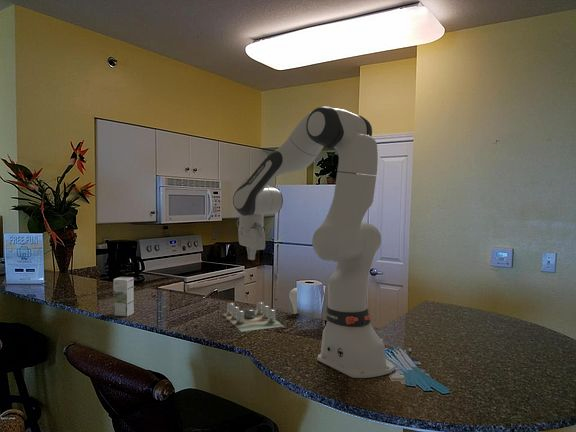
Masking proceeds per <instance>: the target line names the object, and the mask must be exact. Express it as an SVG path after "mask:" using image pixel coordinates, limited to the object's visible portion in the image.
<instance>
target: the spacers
mask: <svg viewBox="0 0 576 432" xmlns="http://www.w3.org/2000/svg"><path fill="white" fill-rule="evenodd" d="M243 310H244V309H243ZM243 310H242V309H240V306H238V305H237V306H236V305H235V302H227V304H226V313H227V316H231V320H236V324H238V325H242V324H244V311H243ZM256 310H257V315H262V319H268V323H271V324H273V323H275V320H277V319H276V315H277V314H276V311H277V310H276V309H273V308H270V305H265V302H264V301H257V302H256Z"/></svg>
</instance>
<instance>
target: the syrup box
mask: <svg viewBox="0 0 576 432" xmlns="http://www.w3.org/2000/svg"><path fill="white" fill-rule="evenodd" d="M134 280H135V279H134V276H133V277H132V276H131V277H130V276H119V277H118V276H117V277H116V278H114V279H113V281H112V285H113V287H112V288H113V289H112V290H113V291H112V292H113V294H112V296H113V317H129V315H130V316H131V315H133V314H134V313H135V308H134V307H135V305H134V301H135V300H134V294H135V293H134V287H135V286H134Z"/></svg>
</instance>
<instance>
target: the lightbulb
mask: <svg viewBox="0 0 576 432" xmlns="http://www.w3.org/2000/svg"><path fill="white" fill-rule="evenodd" d="M297 288H298V287H294V288H293V289H291V290H290V292H289V295H288V297H289V300H290V302H291V304H292V309H293V315H294V314H296V313H297Z"/></svg>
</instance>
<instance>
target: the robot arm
mask: <svg viewBox="0 0 576 432" xmlns="http://www.w3.org/2000/svg"><path fill="white" fill-rule="evenodd" d="M323 148H326V149H328V150H331V149H333V148H334V149H335V151H336V152H337V153H338V165H337V170H336V171H337V172H336V179H335V187H334V194H333V198H332V202H331V205H330V208H329V210H328V212H327V215H326V216H325V218H324V221H322V224H320V226H319V227H318V228H317V229H316V230H315V231H314V233H313V236H312V242H311V243H312V249H313V251H314V253H315V255H316V256H317V257H318V258H319V259H321V260H323V261H328V262H332V263H333V262H334V263H337V264H336V266H335V268H334V271H333V272H332V274H331V275H330V277H329V280H328V284H327V285H328V287H327V288H328V290H327V291H328V292H327V298H328V299H327V306H326V311H325V315H326V317H325V318H326V320H327V321H326V324H325V326H324V328H323V330H322V336H321V347H320V353H319V354H318V355H317V356H316V357H317V358H316V359H317V361H318V362H320V363H322V364H324V365H327V366H328V367H330V368H332V369H334V370H336V371H338V372H340V373H342V374H344V375H346V376H348V377H351V378H353V379H354V378H355V379H367V378H375V377H381V376H384V375H385V376H386V375H387V374H391V373H393V372H394V371H396V366H395V365H394V363H392V362H391V361H390V360H389V359H387V353H386V346H385V341H384V339H383V338H380V337H379V336H378V333H377V332H376V331H375V329H374V328H373V326H372V324H371V322H372V321H371V320H373V318H371V317H373V315H371V314H370V312H369V309H368V307H367V305H368V304H367V302H368V284H369V282H368V281H369V276H370V271H371V268H372V264H373V260H374V258H375V256H376V253H377V252H378V250H379V249H380V247H381V243H382V235H381V232H380V230H379V229H378V228H377V226H375V225H374V224H371V223H369V222H366V221H363V220H364V218H365V215H366V213H367V212H368V210H369V209H370V208H371V206H372V204H373V203H374V198H375V190H376V182H377V174H378V163H379V162H378V161H379V160H378V159H379V158H378V156H379V155H378V144H377V141H376V139H374V138H373V127H372V124H371V123H370V122H369V121H368V119H367V118H365V117H363V116H362V115H360V114H356V113H354V112H353V113H352V112H350V111H348V110H346V109H341V108H333V107H331V106H319V107H315V108H314V109H313V110H311V112H308V113H307V114H306V115H305V116H304V117H302V119H301V120H300V121H299V122H298V124H297V125H296V126H295V127H294V128H293V130H292V132H291V133H290V135H289V136H288V138H287V139H286V140H285V141H284V142H283V143H282V144H281V145H280V146H279V147H278V148H277V149H275V150H274V151H272V152H271V153H270V154H268V155H267V157H266V158H264V160H263V161H262V162H261V163H260V164H259V165H258V167H257V168H256V170H255V171H253V173H252V174H251V175H250V177H249V178H246V179H244V180H242V183H241V184H240V186H239V187H238V188H237V189H236V191H235V192H234V193H233V197H232V204H233V207H234V209H235V210H236V211H237V213H238V214H239V218H238V219H237V220H236V226H237V227H238V228H237V234H238V243H239V245H240V246H243V247H245V248H246V251H247V252H246V254H247V259H248V260H250V261H255V259H256V255H257V254H256V253H257V251H262V250H263V251H264V250H265V248H266V232H265V229H264V221H265V220H264V219H265V217H264V215H274V214H277V213H279V212H280V210H281V209H282V207H283V203H284V197H283V193H282V192H281V191H280V190H279V188H275V187H273V186H270V185H269V184H270V183H271V181H272V180H274V179H275V178H277V177H278V176H280V175H284V174H287V173H291V172H297V171H302V170H305V169H307V168H308V167H309V166H311V165H312V164H313V163H314V162H315V160H316V159H317V158H318V156H319V154H320V153H321V152H322V150H323ZM392 371H393V372H392Z"/></svg>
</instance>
